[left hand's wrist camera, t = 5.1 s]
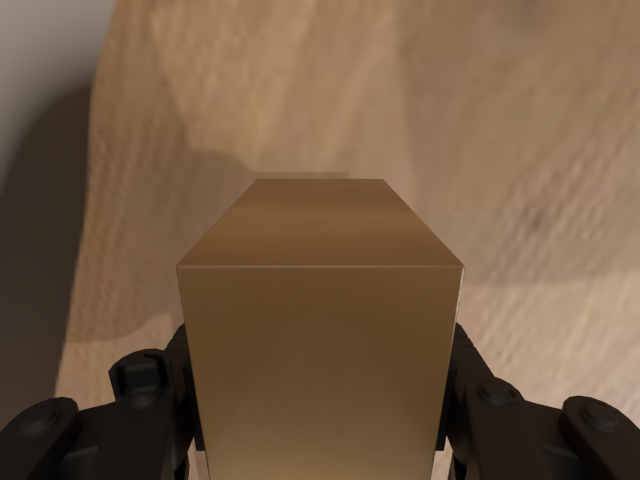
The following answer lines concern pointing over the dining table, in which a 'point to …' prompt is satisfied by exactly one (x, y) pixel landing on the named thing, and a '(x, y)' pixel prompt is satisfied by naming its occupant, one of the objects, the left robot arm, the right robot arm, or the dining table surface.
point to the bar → (320, 333)
